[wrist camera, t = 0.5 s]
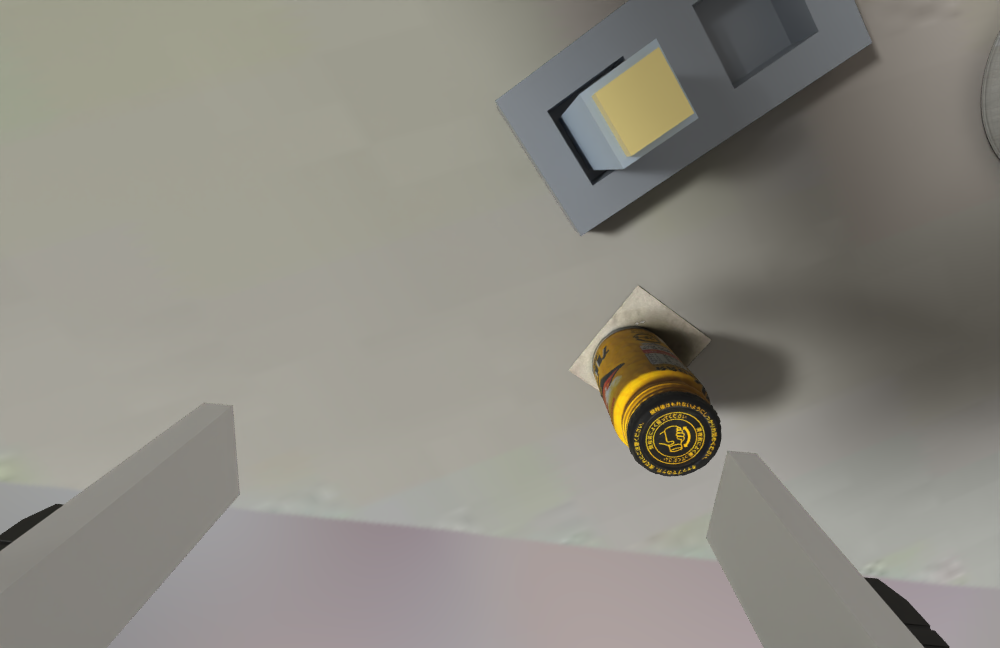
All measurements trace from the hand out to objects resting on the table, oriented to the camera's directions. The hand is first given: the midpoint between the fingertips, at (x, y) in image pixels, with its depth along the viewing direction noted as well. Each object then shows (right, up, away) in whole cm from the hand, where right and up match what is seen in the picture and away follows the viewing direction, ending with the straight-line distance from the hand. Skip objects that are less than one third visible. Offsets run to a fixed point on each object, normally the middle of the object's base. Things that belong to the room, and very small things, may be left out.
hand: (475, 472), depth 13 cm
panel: (+11, +20, +20) cm, 31 cm away
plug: (+7, +17, +20) cm, 28 cm away
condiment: (+11, +2, +26) cm, 28 cm away
